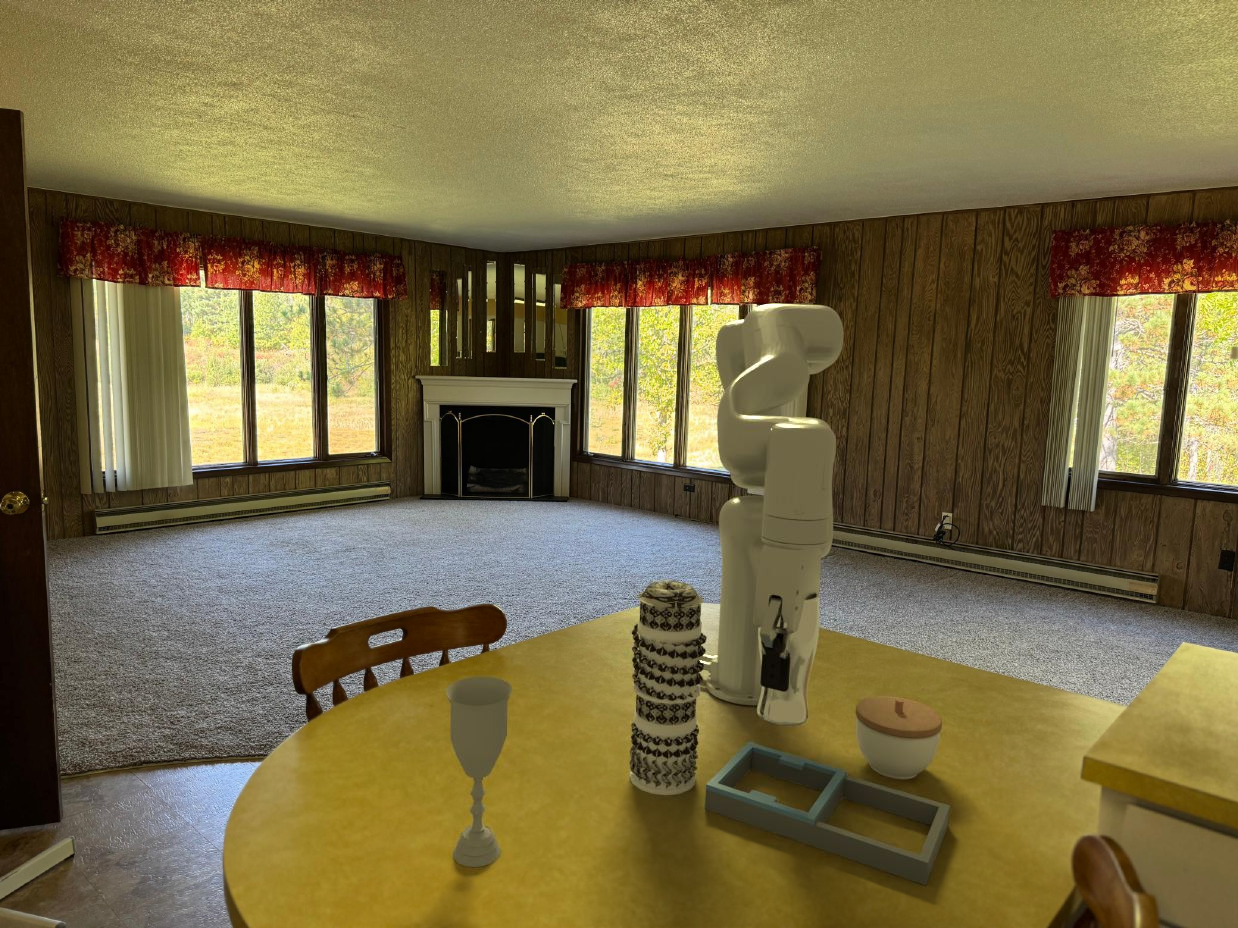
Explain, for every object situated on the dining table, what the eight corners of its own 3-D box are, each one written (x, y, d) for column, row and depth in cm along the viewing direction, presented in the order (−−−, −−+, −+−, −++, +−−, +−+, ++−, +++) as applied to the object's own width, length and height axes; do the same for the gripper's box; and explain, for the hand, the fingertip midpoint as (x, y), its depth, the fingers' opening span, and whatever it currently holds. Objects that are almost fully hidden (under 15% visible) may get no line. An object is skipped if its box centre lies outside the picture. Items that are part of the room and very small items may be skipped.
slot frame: (704, 808, 97) (706, 784, 97) (746, 763, 108) (748, 741, 108) (925, 885, 84) (928, 857, 84) (947, 825, 95) (950, 800, 95)
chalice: (448, 832, 90) (450, 676, 88) (510, 831, 91) (514, 676, 89) (439, 874, 83) (441, 705, 81) (507, 872, 84) (510, 705, 81)
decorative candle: (667, 805, 97) (677, 602, 94) (611, 776, 103) (618, 584, 100) (713, 778, 104) (724, 587, 101) (658, 752, 110) (666, 571, 107)
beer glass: (813, 730, 93) (822, 603, 92) (751, 723, 95) (759, 597, 93) (811, 706, 100) (820, 587, 98) (754, 699, 102) (761, 581, 100)
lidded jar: (840, 771, 107) (845, 702, 106) (866, 740, 116) (871, 677, 115) (925, 798, 101) (931, 726, 100) (945, 764, 110) (952, 697, 109)
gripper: (789, 514, 104) (780, 650, 106) (735, 537, 89) (726, 695, 91) (848, 522, 100) (837, 663, 102) (802, 548, 85) (790, 712, 88)
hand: (785, 677), depth 97 cm, fingers closed on beer glass, 6 cm apart
